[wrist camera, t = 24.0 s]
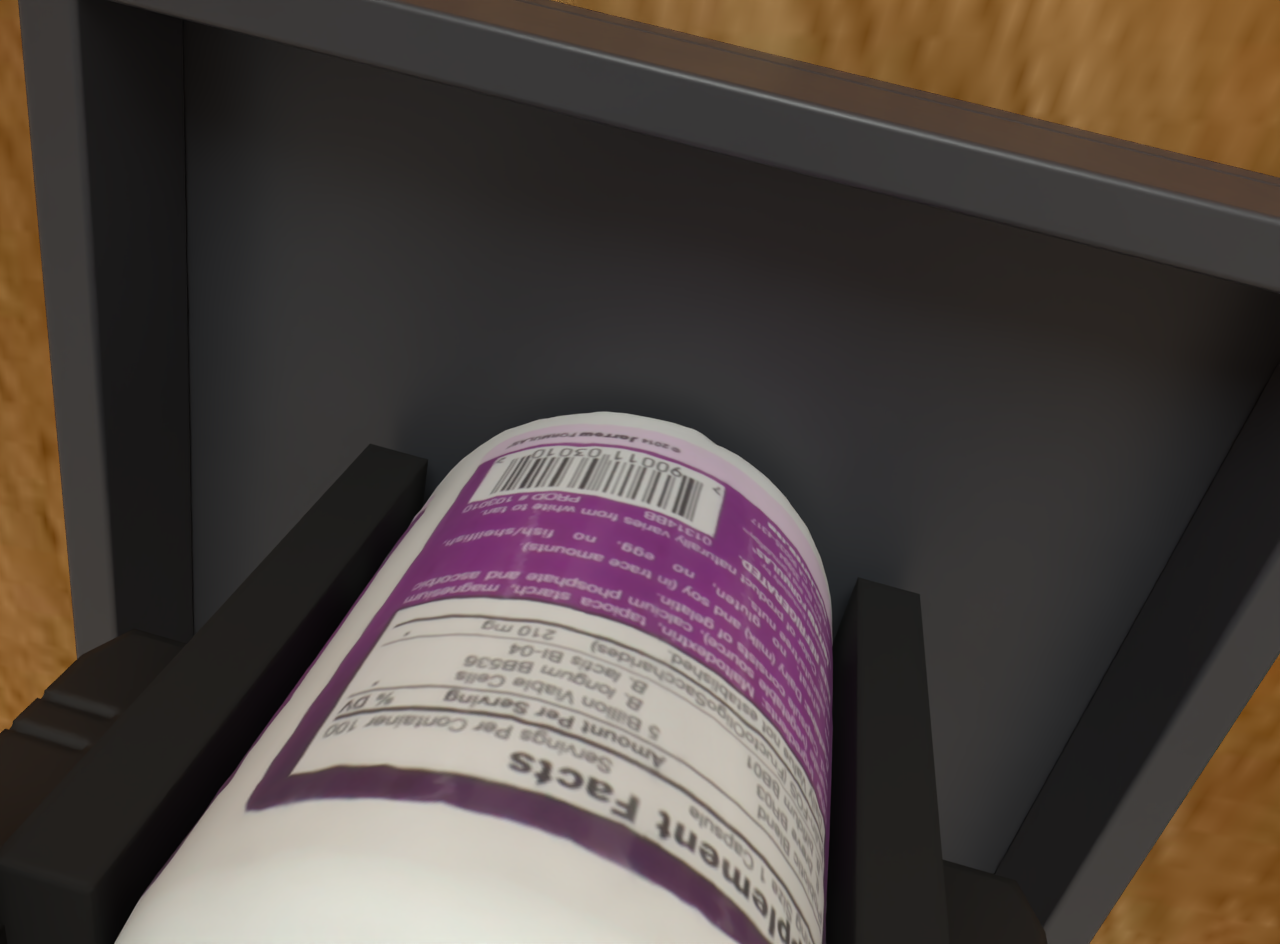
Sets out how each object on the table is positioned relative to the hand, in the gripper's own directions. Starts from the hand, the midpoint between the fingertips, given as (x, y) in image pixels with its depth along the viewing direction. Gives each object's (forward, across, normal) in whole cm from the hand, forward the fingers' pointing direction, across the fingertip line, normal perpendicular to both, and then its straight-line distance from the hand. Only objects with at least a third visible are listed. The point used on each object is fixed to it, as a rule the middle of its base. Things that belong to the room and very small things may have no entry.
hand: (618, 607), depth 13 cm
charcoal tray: (+1, 0, 0) cm, 1 cm away
